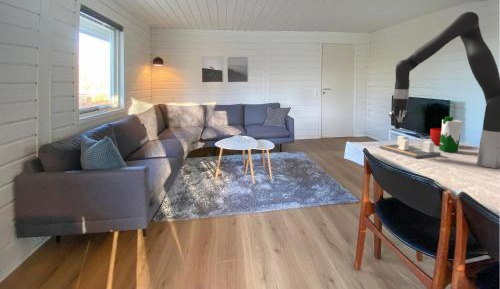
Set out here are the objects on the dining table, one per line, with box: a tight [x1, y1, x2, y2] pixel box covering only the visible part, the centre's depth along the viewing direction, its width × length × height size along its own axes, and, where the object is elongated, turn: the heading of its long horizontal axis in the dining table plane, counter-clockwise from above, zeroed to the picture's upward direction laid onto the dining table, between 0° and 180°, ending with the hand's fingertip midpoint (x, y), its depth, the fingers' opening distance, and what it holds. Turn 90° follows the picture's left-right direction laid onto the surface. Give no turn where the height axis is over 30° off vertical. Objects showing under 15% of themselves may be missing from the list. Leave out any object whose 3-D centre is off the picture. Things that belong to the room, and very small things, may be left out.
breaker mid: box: [398, 139, 410, 150], centre depth 168 cm, size 4×4×6 cm
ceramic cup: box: [429, 127, 442, 147], centre depth 185 cm, size 13×17×10 cm
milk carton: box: [438, 116, 464, 154], centre depth 169 cm, size 9×9×20 cm
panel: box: [379, 143, 442, 160], centre depth 170 cm, size 26×18×2 cm
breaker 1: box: [395, 135, 408, 145], centre depth 179 cm, size 4×4×6 cm
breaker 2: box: [422, 140, 435, 153], centre depth 162 cm, size 4×4×6 cm
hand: (397, 128), depth 164 cm, fingers closed
